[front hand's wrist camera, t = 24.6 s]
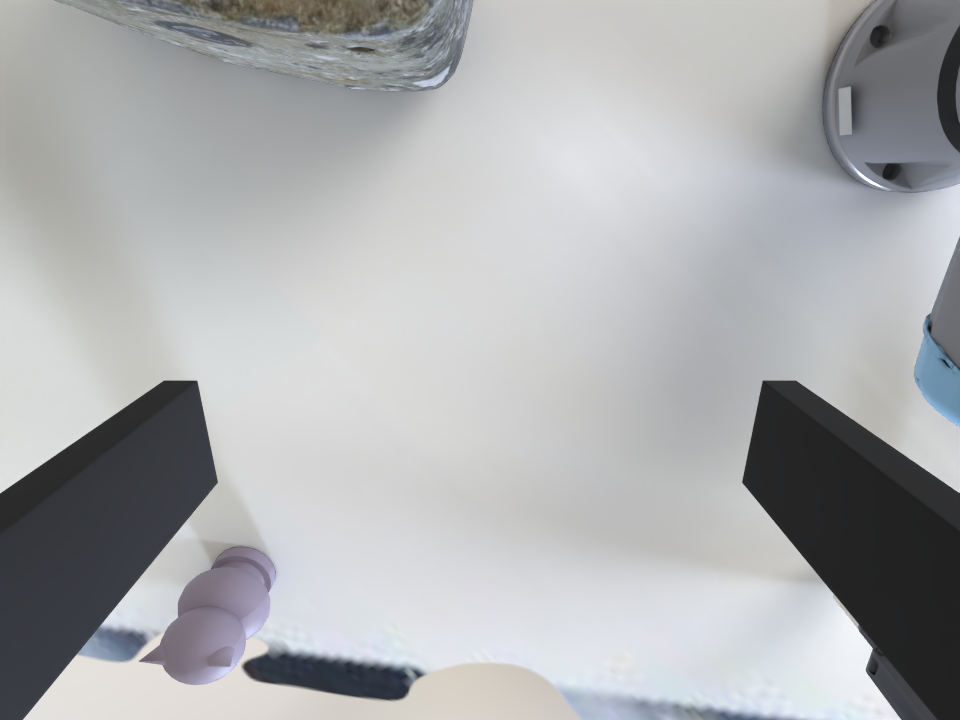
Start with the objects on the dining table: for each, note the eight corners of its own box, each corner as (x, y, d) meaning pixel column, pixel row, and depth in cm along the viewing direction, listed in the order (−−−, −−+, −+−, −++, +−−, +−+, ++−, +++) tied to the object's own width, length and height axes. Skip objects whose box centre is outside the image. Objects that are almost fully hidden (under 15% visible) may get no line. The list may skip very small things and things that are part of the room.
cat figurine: (209, 599, 57) (143, 705, 46) (198, 540, 55) (125, 638, 43) (288, 601, 57) (242, 708, 46) (281, 542, 55) (230, 640, 43)
